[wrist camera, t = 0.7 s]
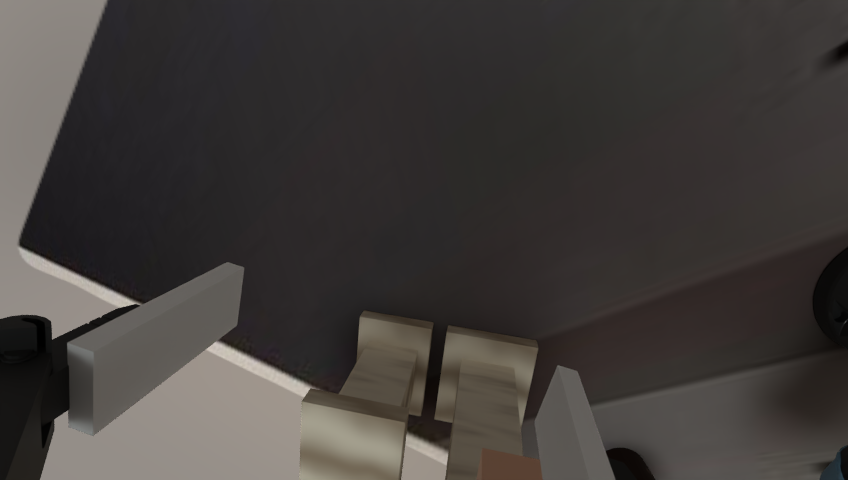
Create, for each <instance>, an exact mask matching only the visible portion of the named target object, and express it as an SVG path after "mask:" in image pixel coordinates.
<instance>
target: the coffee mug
mask: <svg viewBox="0 0 848 480" xmlns="http://www.w3.org/2000/svg"><path fill="white" fill-rule="evenodd" d="M606 454H607V457H608V458H611V459H614V460H617V461H620V462H623V463H625V465H626V466H627V467H628V469H629V470H630V471H631V472H632V474H633V475H634V476H635V478H636V479H637V480H655V478H654V477H653V475H652V474H651V472H650V470H649V469H648V467H647V466H646V464H645V462H644V461H643V459H642V458H641V457H640V455H638V454H637V453H636V452H634V451H632V450H630V449H626V448H614V449H610V450H608V451H606Z"/></svg>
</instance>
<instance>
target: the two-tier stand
mask: <svg viewBox="0 0 848 480" xmlns="http://www.w3.org/2000/svg"><path fill="white" fill-rule="evenodd" d="M433 326H434V322H428V321H422V320H417V319H411V318H405V317H400V316H394V315H388V314H382V313H377V312H371V311H365V310H364V311H363V313H362V314H361V316H360V321H359V335H358V349H357V363H356V364H355V366H354V368H353V370H352V372H351V373H350V375H349V377H348V379H347V380H346V382H345V384H344V386H343V387H342V389H341V391H340V393H339V394H336V393H331V392H326V391H321V390H316V389H310V390H309V392H308V393H307V394H306V396H305V397H304V399H303V400H302V411H301V444H300V478H299V480H401V474H402V467H403V458H404V450H405V441H406V433H407V425H408V416H409V414H411V415H416V416H421V413H422V409H423V403H424V395H425V387H426V379H427V372H428V364H429V356H430V349H431V341H432V333H433ZM537 352H538V344H537V340H531V339H526V338H520V337H514V336H509V335H503V334H497V333H491V332H486V331H480V330H474V329H468V328H463V327H457V326H451V325H448V328H447V334H446V341H445V348H444V355H443V362H442V369H441V376H440V383H439V390H438V398H437V405H436V412H435V419H436V420H441V421H446V422H451V423H452V430H451V438H450V446H449V454H448V462H447V470H446V478H445V480H476V479H477V473H478V468H479V462H480V457H481V452H482V448H486V449H490V450H495V451H500V452H505V453H510V454H514V455H519V456H523V448H522V439H521V426H522V422H523V417H524V412H525V408H526V403H527V398H528V394H529V389H530V384H531V380H532V375H533V371H534V366H535V361H536V357H537Z"/></svg>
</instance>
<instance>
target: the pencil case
mask: <svg viewBox="0 0 848 480" xmlns="http://www.w3.org/2000/svg"><path fill="white" fill-rule="evenodd" d="M476 480H543V478H542V471H541V464H540V460H538V459H534V458H529V457H524V456H519V455H514V454H510V453H505V452H500V451H495V450H490V449H486V448H482V452H481V457H480V462H479V468H478V473H477V479H476Z"/></svg>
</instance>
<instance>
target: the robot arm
mask: <svg viewBox="0 0 848 480" xmlns="http://www.w3.org/2000/svg"><path fill="white" fill-rule="evenodd" d="M243 274H244V267H241V266H238V265H235V264H231V263H228V262H227V263H225V264H223V265H221V266H219V267H217V268H215V269H213V270H211V271H209V272H207V273H205V274H203V275H201V276H199V277H197V278H195V279H193V280H191V281H189V282H187V283H185V284H183V285H181V286H179V287H177V288H175V289H173V290H171V291H169V292H167V293H165V294H163V295H161V296H159V297H157V298H155V299H153V300H151V301H149V302H147V303H145V304H143V305H141V306H140V305H137V304H134V305H130V306H126V307H122V308H118V309H115V310H113V311H111V312H109V313H107V314H105V315H103V316H102V317H101V318H100V317H99V318H97V319H95V320H92V321H90V322H89V324H87V323H86V324H84V325H82V326H80V327H78V328H76V329H74V330H72V331H70V332H67V333H65V334H63V335H61V336H59V337H57V338H55V339H53V340H52V328H51V321H50V320H48V319H47V318H45V317H41V316H37V315H20V316H11V317H7V318H3V319H0V480H40V477H41V474H42V470H43V467H44V463H45V460H46V457H47V453H48V450H49V446H50V443H51V439H52V436H53V432H54V419H55V418H57V417H58V416H60V415H61V414H63V413H64V412H66V411H67V410H68V419H69V422H68V423H69V427H70V428H73V429H76V430H78V431H81V432H84V433H86V434H89V435H92V436H94V435H95V434H96V433H97V432H99V431H100V430H101V429H103V428H104V427H105V426H107V425H108V424H109V423H110V422H112V421H113V420H114V419H116V418H117V417H118V416H120V414H122V413H123V412H125V411H126V410H127V409H129V408H130V407H131V406H133V405H134V404H135V403H136V402H138V401H139V400H140V399H142V398H143V397H144V396H146V395H147V394H148V393H149V392H150V391H152V390H153V389H155V388H156V387H157V386H159V385H160V384H161V383H162V382H164V381H165V380H166V379H168V378H169V377H170V376H171V375H173V374H174V373H175V372H177V371H178V370H179V369H181V368H182V367H183V366H184V365H186V364H187V363H188V362H190V361H191V360H192V359H194V358H195V357H196V356H197V355H199V354H200V353H201V352H203V351H204V350H205V349H207V348H208V347H209V346H211V345H212V344H213V343H214V342H216V341H217V340H218V339H220V338H221V337H222V336H224V335H225V334H226V333H227V332H229V331H230V330H231V329H233V328H234V327H235V326H237V321H238V313H239V305H240V297H241V289H242V281H243ZM814 313H815V317H816V320H817V322H818V324H819V326H820V327H821V329H822V330H823V331H824V333H825V334H826V335H827V336H828V337H829V338H831V339H832V340H833V341H835V342H836V343H838V344H839V345H841V346H843V347H844V348H846V349H847V350H848V249H846V250H845V251H844V252H842V253H841V254H840V255H839V256H838V257H836V258H835V259H834V260H833V261H832V262H831V263H830V265H829V266H828V267H827V268H826V270H825V271H824V273H823V274H822V276H821V278H820V280H819V282H818V284H817V287H816V290H815V294H814ZM534 423H535V429H536V436H537V443H538V450H539V457H540V464H541V471H542V478H543V480H637V479H636V478H635V476H634V475H633V474H632V472H631V471H630V470H629V469H628V467H627V466H626V465H625V463H623V462H620V461H617V460H614V459H611V458H608V457H607V454H606V451H605V449H604V446H603V443H602V440H601V437H600V434H599V431H598V429H597V426H596V423H595V420H594V417H593V414H592V411H591V409H590V406H589V403H588V400H587V397H586V394H585V392H584V389H583V386H582V383H581V380H580V377H579V374H578V372H577V371H575V370H572V369H569V368H565V367H562V366H559V365H558V366H557V368H556V370H555V373H554V375H553V378H552V380H551V383H550V385H549V388H548V390H547V392H546V395H545V397H544V400H543V402H542V405H541V407H540V409H539V412H538V414H537V417H536V419H535V422H534ZM820 480H848V445H847V446H844V447H842V448H841V449H840V451H839V452H838V453H837V455H836V458H835V459H834V460H833V461H832V462H831V464H830V465H829V466H828V467H827V468H826V469H825V470H824V471H823V472H822V474H821V476H820Z"/></svg>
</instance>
